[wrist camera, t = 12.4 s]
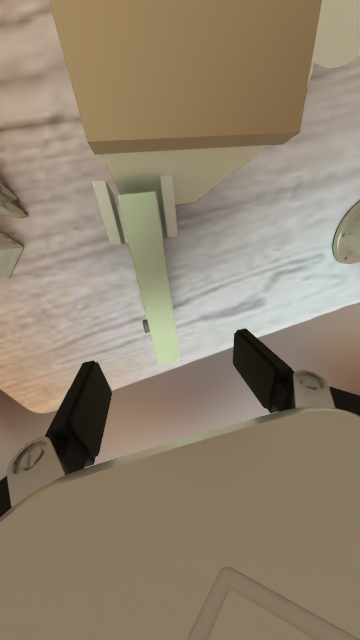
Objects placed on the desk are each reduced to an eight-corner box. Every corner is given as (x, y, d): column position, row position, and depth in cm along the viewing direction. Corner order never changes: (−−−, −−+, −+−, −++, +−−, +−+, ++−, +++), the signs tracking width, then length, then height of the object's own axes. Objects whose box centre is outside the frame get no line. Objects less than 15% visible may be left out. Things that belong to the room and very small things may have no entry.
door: (149, 216, 25) (154, 191, 13) (167, 316, 33) (180, 360, 21) (122, 219, 24) (100, 196, 12) (147, 320, 33) (149, 368, 20)
